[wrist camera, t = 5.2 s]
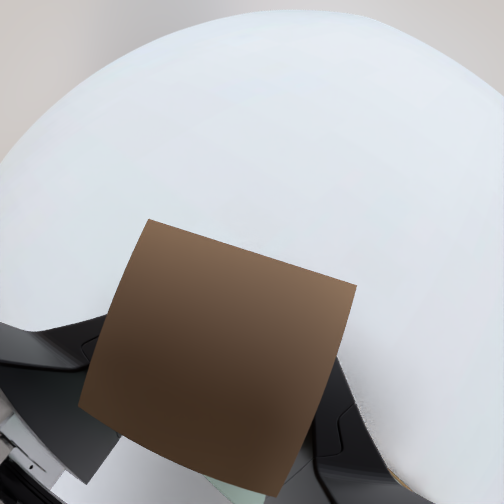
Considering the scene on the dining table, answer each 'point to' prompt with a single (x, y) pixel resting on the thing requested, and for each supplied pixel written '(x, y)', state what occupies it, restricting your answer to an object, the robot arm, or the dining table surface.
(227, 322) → the brown block
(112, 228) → the dining table surface
